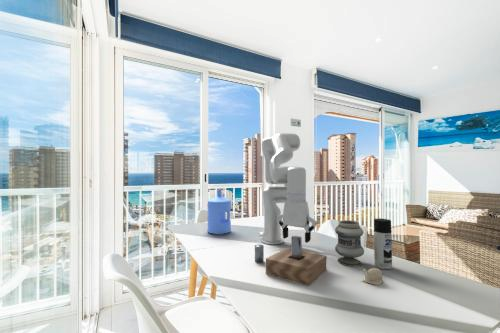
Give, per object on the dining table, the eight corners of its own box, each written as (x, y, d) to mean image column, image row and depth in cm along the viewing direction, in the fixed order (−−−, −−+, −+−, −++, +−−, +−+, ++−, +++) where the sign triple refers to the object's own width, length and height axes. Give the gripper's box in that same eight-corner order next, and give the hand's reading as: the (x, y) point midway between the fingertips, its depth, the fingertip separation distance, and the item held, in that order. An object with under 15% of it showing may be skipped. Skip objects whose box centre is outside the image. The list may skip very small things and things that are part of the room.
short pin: (253, 261, 115) (253, 246, 115) (258, 259, 118) (258, 243, 118) (260, 263, 112) (260, 247, 113) (265, 261, 116) (265, 245, 116)
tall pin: (289, 272, 103) (289, 237, 103) (294, 269, 106) (294, 235, 106) (298, 274, 100) (298, 238, 101) (303, 271, 104) (303, 236, 104)
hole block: (265, 273, 101) (265, 258, 101) (287, 260, 116) (287, 247, 116) (308, 286, 90) (308, 268, 91) (326, 270, 105) (326, 255, 105)
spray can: (385, 271, 104) (384, 221, 105) (370, 265, 110) (370, 219, 111) (395, 268, 107) (395, 220, 108) (380, 262, 113) (380, 217, 114)
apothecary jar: (330, 262, 114) (330, 221, 114) (341, 256, 123) (341, 218, 123) (358, 269, 106) (357, 225, 106) (368, 262, 114) (367, 221, 115)
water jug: (204, 234, 164) (204, 190, 165) (211, 228, 180) (211, 188, 180) (227, 235, 162) (227, 191, 162) (233, 229, 177) (233, 189, 178)
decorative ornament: (386, 284, 92) (386, 269, 92) (366, 286, 91) (366, 271, 91) (378, 279, 96) (378, 265, 96) (359, 281, 95) (358, 266, 95)
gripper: (273, 196, 106) (273, 238, 106) (312, 200, 96) (312, 246, 96) (282, 195, 112) (282, 234, 112) (320, 198, 102) (320, 241, 102)
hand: (296, 239), depth 104 cm, fingers open, 9 cm apart
